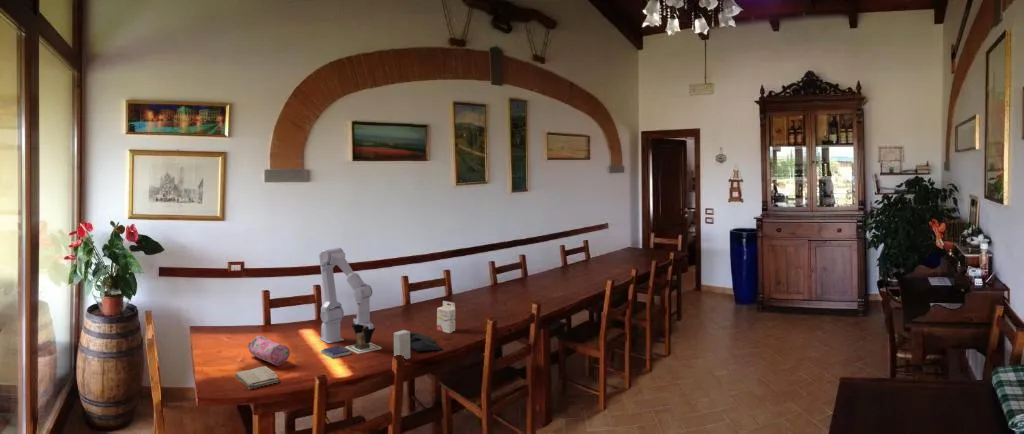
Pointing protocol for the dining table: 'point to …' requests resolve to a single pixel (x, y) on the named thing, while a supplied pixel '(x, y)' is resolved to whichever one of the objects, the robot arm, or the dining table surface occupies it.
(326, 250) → the robot arm
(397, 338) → the skincare box
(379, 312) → the dining table surface
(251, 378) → the washcloth
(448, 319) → the ink cartridge box
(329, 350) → the ink pad
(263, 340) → the pencil case
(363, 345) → the stamp
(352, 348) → the print card
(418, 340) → the dark slate chunk
